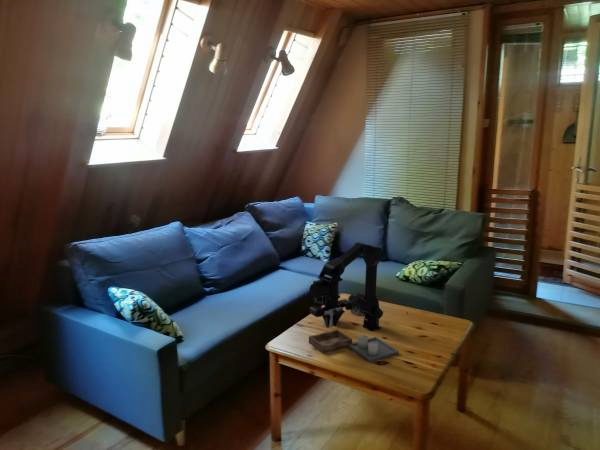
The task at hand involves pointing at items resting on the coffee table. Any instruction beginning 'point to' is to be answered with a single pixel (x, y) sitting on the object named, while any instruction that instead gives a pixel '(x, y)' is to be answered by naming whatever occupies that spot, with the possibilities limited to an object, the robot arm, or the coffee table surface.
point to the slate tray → (383, 350)
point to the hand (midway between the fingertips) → (330, 326)
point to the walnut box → (330, 341)
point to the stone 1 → (330, 322)
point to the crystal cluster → (356, 303)
